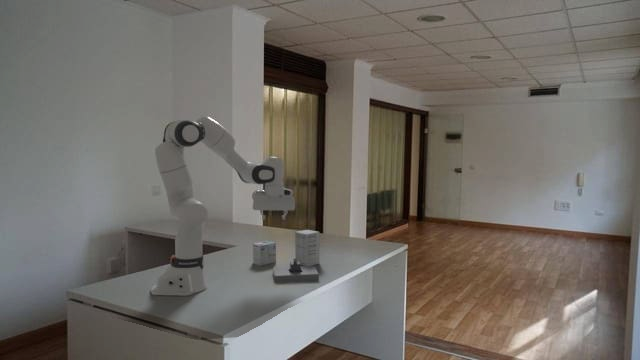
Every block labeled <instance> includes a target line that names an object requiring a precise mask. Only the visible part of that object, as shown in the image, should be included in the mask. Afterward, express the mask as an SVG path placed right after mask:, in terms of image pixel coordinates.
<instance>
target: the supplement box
mask: <svg viewBox="0 0 640 360" xmlns="http://www.w3.org/2000/svg"><path fill="white" fill-rule="evenodd" d="M294 235H295V238H294V239H295V240H294V242H295V243H294V245H295V247H294V248H295V251H294V252H295V253H294V255H295V258H296V259H297V262H300V264H301V266H315V265H318V264H320V260H321V259H320V231H316V230H311V229H303V230H298V231H295V232H294Z"/></svg>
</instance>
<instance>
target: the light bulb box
mask: <svg viewBox="0 0 640 360" xmlns="http://www.w3.org/2000/svg"><path fill="white" fill-rule="evenodd" d="M252 260H253V261H252V263H253V264H254V265H256V266H260V267H261V266H266V265H269V264H274V263H277V242H275V241H271V240H265V241H260V242H255V243H252Z"/></svg>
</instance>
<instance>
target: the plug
mask: <svg viewBox="0 0 640 360" xmlns="http://www.w3.org/2000/svg"><path fill="white" fill-rule="evenodd" d="M301 266H302V265H301V264H300V262H297V259H296V258H293V261H289V267H290V273H294V272H300V271H301Z"/></svg>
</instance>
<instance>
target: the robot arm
mask: <svg viewBox="0 0 640 360" xmlns="http://www.w3.org/2000/svg"><path fill="white" fill-rule="evenodd" d="M200 142H201V143H202V144H204V146H205V147H207V148H208V149H209V150H210V151H212V152H213V153H214V154H216V155H218V156H219V157H221V158H222V159H223V160H224V161H225V162H226V163H228V164H229V165H230V167H232V169H234V170H235V172H236V173H237V175H238V177H239V179H240V181H242V182H243V183H245V184H253V185H265V186H264V190H255V191H253V192H252V195H251V196H252V197H251V198H252V200H253V202H252V210H254V211H259V213H260V215H261V216H262V217H261V219H262V220H263V221H264V220H266V215H264V211H283V212H284V214H283V215H281V220H283V221H285V220H286V216H287V215H288V213H289V212H288V211H295V209H296V200H295V197H294V196H293V194H294V192H293V190H292V189H290V188H287V187H285V186H284V185H285V183H284V177H285V164H284V160H283V159H282V158H280V157H277V156H267V157H266V158H265V159H263V160H262V161H260V162H258V163H256V162H255V163H254V162H250V161H247V160H246V159H244V158H243V157H242V156H241V155H240V154H239V153H238V152H237V151H236V150H235V144H236V139H235V138H234V136H233V135H232V134H231V132H229V130H227V129H226V128H225V127H224V126H222V125H221V124H220V123H218V122H217V121H216V120H214V119H213V118H211V117H209V116H205V115H204V116H201V117H199V118H198V119H196V120H195V121H194V120H193V121H192V120H185V119H184V120H183V119H179V120H174V121H172V122H171V121H170V123H168V124H167V125H166V126H165V128H164V132H163V139H162V142H161V143H160V144H158V145H157V146H156V148H155V149H154V155H155V160H156V165H157V169H158V171H159V174H160V177H161V180H162V182H163V185H164V188H165V192H166V195H167V202H168V205H169V211H170V215H171V216H172V218H173V219H174V220H176V221H177V222H178V223H177V224H178V227H177V232H176V236H175V237H174V238H175V239H174V246H175V248H174V249H175V254H172V255H171V256H170V266H168V267H167V268H166V269H165V270H163V271H162V272H161V273H159V275H158V277H157V281H156V284H154V285H153V286H152V287H151V289H150V294H151V295H152V296H185V297H186V296H191V295H193V294H197V293H199V292H200V293H201V292H202V291H203V290H206V289H207V287H208V286H207V283H206V279H205V274H204V267H205V265H204V264H205V260H204V259H205V258H204V254H203V234H204V230H205V224H206V221H207V219H208V215H209V213H208V210H207V209H208V208H207V207H206V206H205V205H204V204H203V203H202V202H201V201H199V200H197V199H196V198H195V196H194V189H193V179H192V177H191V174H190V171H189V168H188V165H187V161H186V160H185V157H184V156H185V155H184V151H185V148H187V147H188V148H190V147H194V146H195V145H197V144H198V143H200Z"/></svg>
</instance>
